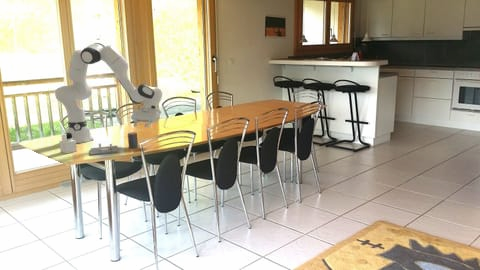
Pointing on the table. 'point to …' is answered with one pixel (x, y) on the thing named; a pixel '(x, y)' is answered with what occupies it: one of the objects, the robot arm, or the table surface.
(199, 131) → the table surface
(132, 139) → the plug housing
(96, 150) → the pin dock
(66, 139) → the medicine bottle
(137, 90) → the robot arm
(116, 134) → the table surface
